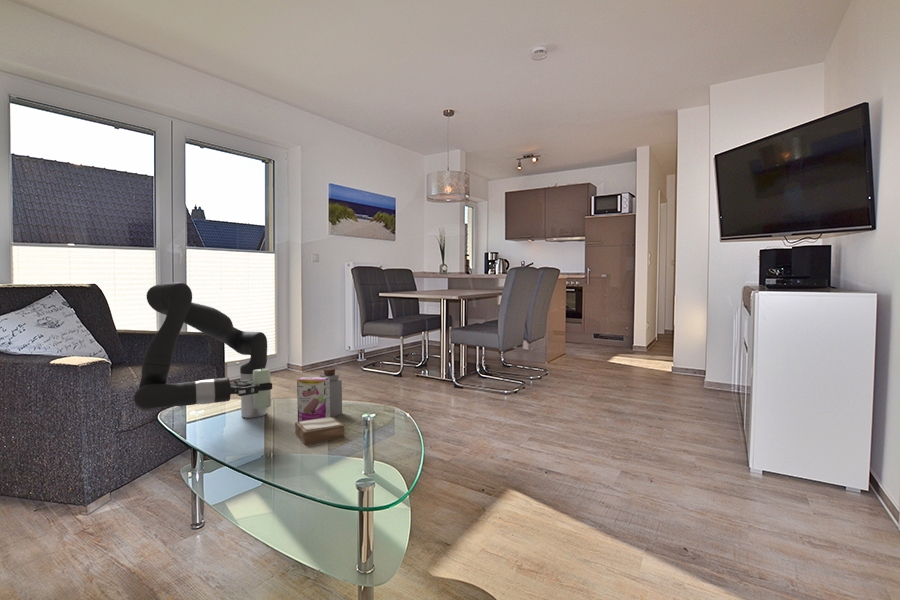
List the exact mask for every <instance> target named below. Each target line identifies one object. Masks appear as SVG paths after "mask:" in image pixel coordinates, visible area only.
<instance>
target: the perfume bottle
mask: <svg viewBox="0 0 900 600" xmlns="http://www.w3.org/2000/svg"><path fill="white" fill-rule="evenodd" d="M323 372H324V374H320V375H319V376H320V377H327V378H330V417H331V416H333V417H335V416H336V417H337V416H339V415H338V414H341V413H342V414H343V387H342V385H343V383H342V382H343V381H342V380H341V379H339V377H340V374H337V373H336V369H335V368H330V367H329V368H325V369H323ZM342 414H341V415H342Z"/></svg>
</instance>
